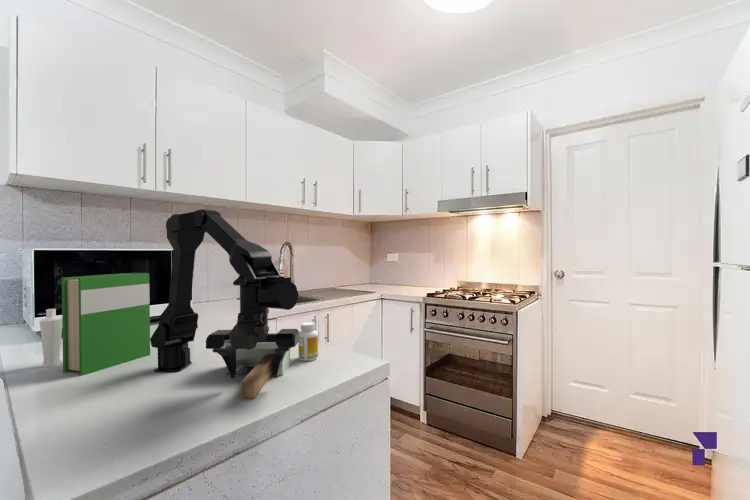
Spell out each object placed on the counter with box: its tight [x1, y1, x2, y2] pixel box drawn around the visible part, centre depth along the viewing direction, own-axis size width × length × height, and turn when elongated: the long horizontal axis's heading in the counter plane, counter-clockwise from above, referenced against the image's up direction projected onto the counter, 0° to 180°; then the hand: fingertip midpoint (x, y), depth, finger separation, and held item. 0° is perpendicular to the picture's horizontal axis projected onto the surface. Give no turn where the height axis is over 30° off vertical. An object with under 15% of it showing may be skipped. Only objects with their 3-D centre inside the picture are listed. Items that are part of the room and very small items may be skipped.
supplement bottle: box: [297, 321, 319, 362], centre depth 97 cm, size 5×5×10 cm
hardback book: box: [61, 272, 151, 376], centre depth 95 cm, size 18×7×24 cm, turn 160°
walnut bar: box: [241, 354, 275, 400], centre depth 80 cm, size 2×18×4 cm, turn 3°
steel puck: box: [225, 360, 249, 377], centre depth 87 cm, size 5×5×2 cm
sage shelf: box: [236, 342, 291, 377], centre depth 88 cm, size 16×8×8 cm, turn 91°
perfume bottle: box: [39, 308, 63, 368], centre depth 93 cm, size 5×4×15 cm
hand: (254, 377), depth 76 cm, fingers open, 9 cm apart
